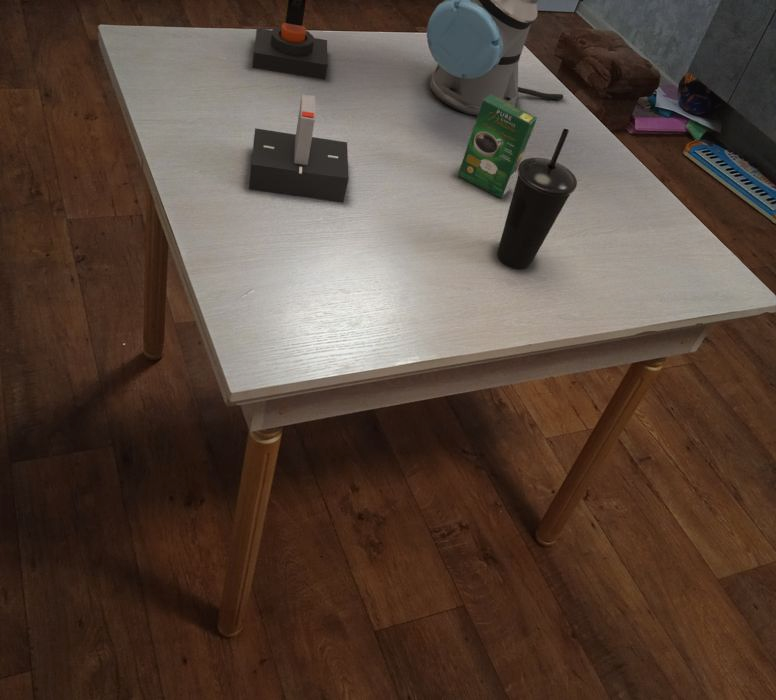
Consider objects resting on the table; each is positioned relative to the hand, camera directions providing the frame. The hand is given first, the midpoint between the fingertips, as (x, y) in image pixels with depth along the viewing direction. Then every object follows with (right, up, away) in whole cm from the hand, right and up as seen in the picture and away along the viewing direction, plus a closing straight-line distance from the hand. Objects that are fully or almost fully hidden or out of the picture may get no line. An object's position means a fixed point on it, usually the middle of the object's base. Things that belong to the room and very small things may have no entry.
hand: (294, 22), depth 135 cm
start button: (0, -2, +2) cm, 3 cm away
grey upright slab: (+3, -26, -22) cm, 34 cm away
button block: (-1, -5, +5) cm, 7 cm away
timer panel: (+3, -29, -19) cm, 35 cm away
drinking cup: (+33, -41, -21) cm, 57 cm away
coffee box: (+30, -29, -10) cm, 42 cm away
